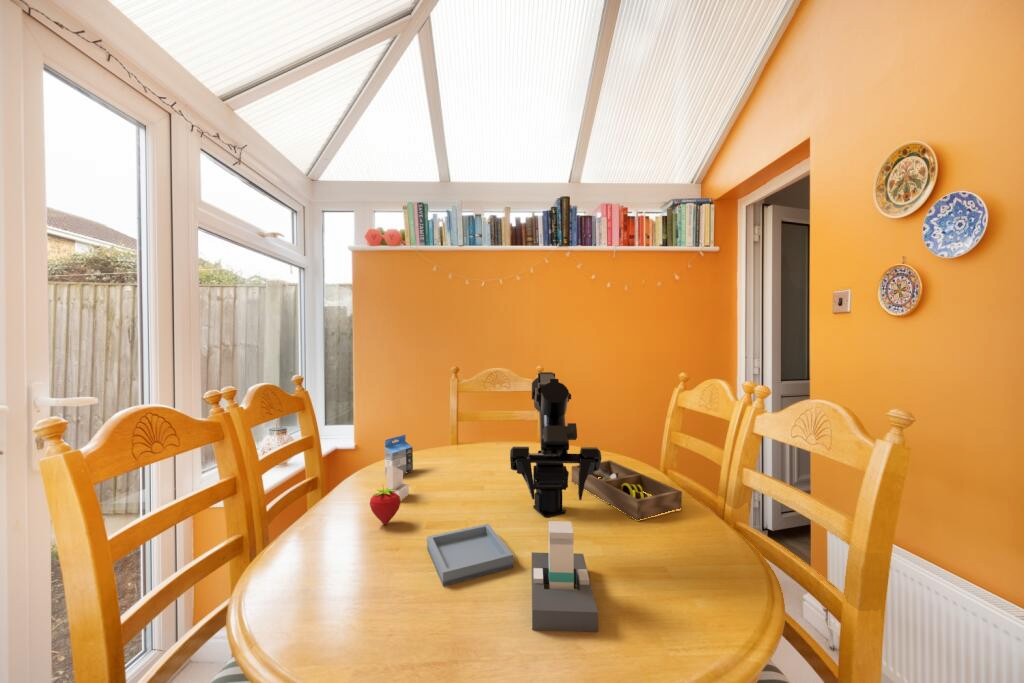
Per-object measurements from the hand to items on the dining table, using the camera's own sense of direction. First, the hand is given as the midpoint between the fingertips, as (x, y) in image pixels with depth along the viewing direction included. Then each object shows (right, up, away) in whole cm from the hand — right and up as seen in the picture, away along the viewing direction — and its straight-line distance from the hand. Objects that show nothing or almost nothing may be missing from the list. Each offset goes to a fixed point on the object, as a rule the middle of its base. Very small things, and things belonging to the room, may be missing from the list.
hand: (556, 499), depth 74 cm
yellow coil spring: (+25, -14, +29) cm, 40 cm away
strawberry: (-40, -14, +18) cm, 46 cm away
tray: (-18, -13, +4) cm, 23 cm away
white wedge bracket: (-41, -14, +34) cm, 55 cm away
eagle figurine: (+19, -14, +42) cm, 48 cm away
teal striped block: (0, -13, -8) cm, 16 cm away
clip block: (0, -13, -8) cm, 16 cm away
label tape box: (-47, -14, +53) cm, 72 cm away
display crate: (+23, -13, +35) cm, 44 cm away
